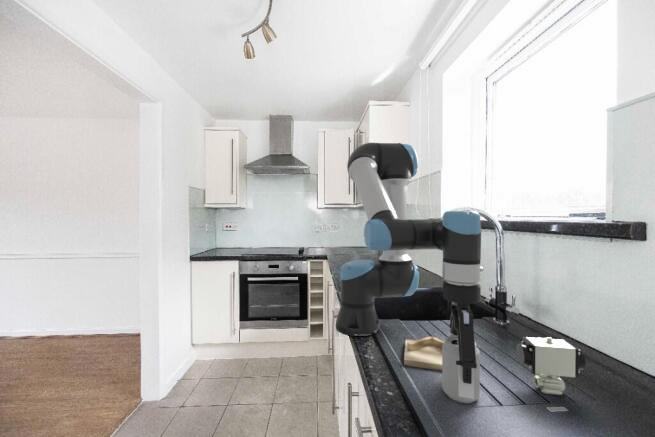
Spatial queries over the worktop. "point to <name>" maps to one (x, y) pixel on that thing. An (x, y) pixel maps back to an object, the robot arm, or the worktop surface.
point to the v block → (424, 353)
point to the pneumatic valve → (550, 362)
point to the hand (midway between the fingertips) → (460, 378)
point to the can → (451, 370)
